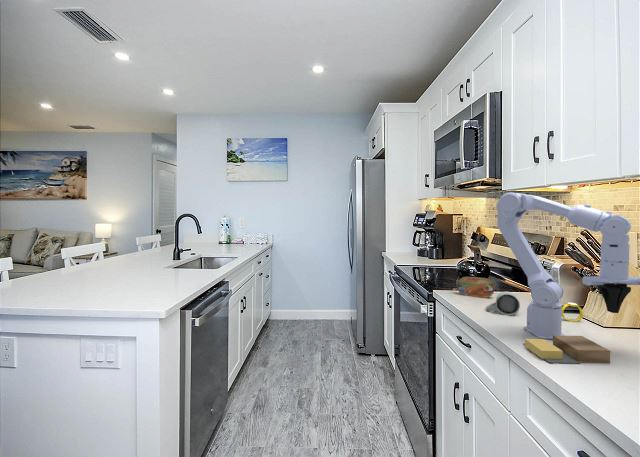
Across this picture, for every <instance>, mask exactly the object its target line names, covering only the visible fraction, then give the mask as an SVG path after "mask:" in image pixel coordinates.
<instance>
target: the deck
mask: <svg viewBox="0 0 640 457" xmlns="http://www.w3.org/2000/svg"><path fill="white" fill-rule="evenodd" d="M552 345H554V346H556V347H557V348H559V349H560V350H562V351H563V352H564V353H565V354H567V355H569V356H570V357H572V358H573V359H575V360H576V361H578V362H580V363H591V364H592V363H593V364H594V363H597V364H598V363H600V364H603V363H606V364H611V353H612V352H611V350H610V349H608V348H606V347H604V346H602V345H601V344H599V343H596V342H595V341H593V340H590V339H589V338H587V337H585V336H583V335H565V336H560V335H553V339H552Z"/></svg>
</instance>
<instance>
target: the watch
mask: <svg viewBox="0 0 640 457" xmlns="http://www.w3.org/2000/svg"><path fill="white" fill-rule="evenodd" d="M568 307H574V308H575V307H576V308H577V309H578V311H579V315H578V317H577V318H576V319H573V318H572V319H570V318H566V317H565V314H564V312H565V309H566V308H568ZM583 317H584V311H583V309H582V308H581V307H580V306H579V305H578V304H577V303H575V302H566V304H564V305H562V319H564V320H565V321H567V322H576V321H578V322H579V321H581V320H582V318H583Z"/></svg>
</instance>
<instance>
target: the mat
mask: <svg viewBox="0 0 640 457" xmlns="http://www.w3.org/2000/svg"><path fill="white" fill-rule="evenodd" d="M522 345H523V346H525V342H524V343H522ZM543 360H544V361H545V362H546V363H548V364H553V363H559V364H562V365H563V364H566V365H569V364H570V365H571V364H572V365H580V364H581V362H578V361H576V360H575V359H573V358H572V357H570V356H569V355H567V354H565V353H564V352H563V359H543ZM559 364H558V365H559Z"/></svg>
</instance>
